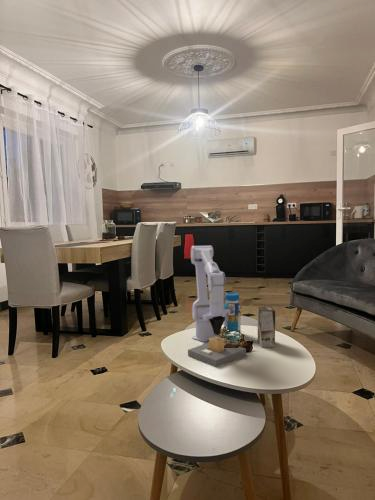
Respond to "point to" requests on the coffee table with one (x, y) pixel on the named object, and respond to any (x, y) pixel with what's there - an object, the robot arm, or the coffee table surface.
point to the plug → (216, 344)
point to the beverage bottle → (232, 312)
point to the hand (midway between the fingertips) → (216, 334)
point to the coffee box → (266, 326)
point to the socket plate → (215, 354)
